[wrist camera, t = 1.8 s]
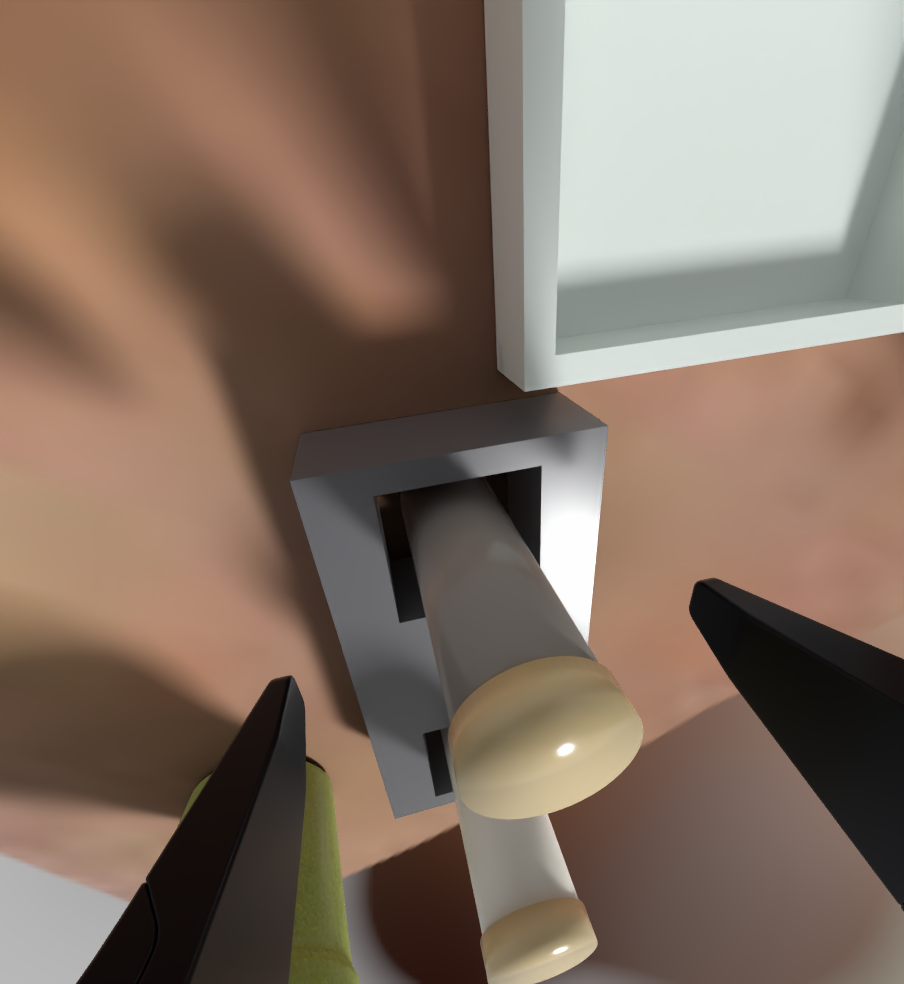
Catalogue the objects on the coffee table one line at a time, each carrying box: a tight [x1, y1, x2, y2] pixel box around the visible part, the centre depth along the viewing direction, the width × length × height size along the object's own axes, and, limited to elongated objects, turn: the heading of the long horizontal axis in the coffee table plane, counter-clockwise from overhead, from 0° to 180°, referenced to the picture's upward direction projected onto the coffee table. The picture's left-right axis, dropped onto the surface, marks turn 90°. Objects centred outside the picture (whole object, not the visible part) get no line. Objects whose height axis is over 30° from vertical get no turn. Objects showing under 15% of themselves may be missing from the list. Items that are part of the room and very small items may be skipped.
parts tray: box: [484, 0, 904, 392], centre depth 11 cm, size 12×10×2 cm
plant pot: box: [177, 762, 360, 984], centre depth 17 cm, size 9×9×9 cm
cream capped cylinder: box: [400, 476, 643, 819], centre depth 11 cm, size 3×3×9 cm
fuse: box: [440, 727, 597, 984], centre depth 16 cm, size 3×3×9 cm
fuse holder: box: [290, 392, 608, 819], centre depth 16 cm, size 8×16×3 cm, turn 5°
